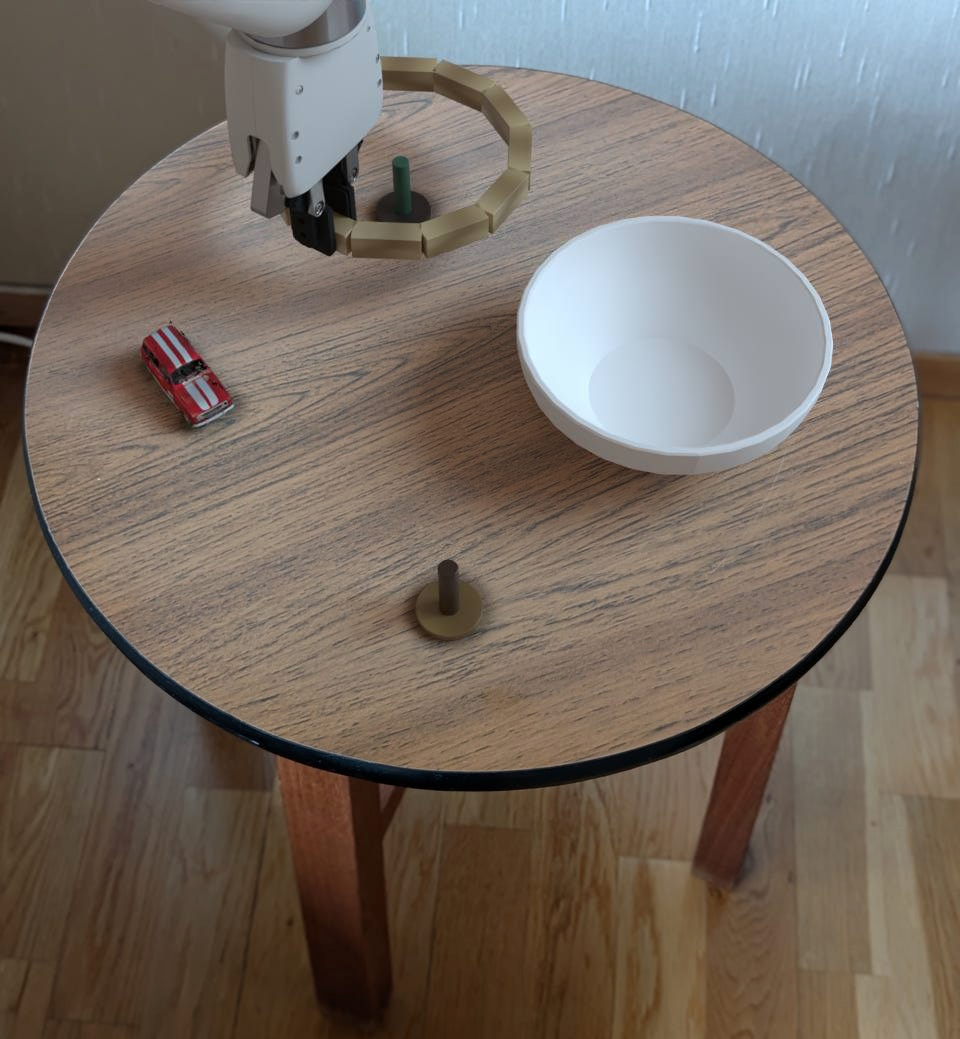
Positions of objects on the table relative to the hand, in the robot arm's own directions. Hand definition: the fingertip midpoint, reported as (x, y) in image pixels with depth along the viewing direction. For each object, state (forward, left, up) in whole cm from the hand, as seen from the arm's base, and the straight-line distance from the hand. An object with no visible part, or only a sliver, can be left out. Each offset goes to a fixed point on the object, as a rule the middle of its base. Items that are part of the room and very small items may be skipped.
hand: (325, 234), depth 89 cm
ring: (+9, 0, 0) cm, 9 cm away
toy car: (-12, +3, -6) cm, 14 cm away
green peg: (+9, 0, -5) cm, 10 cm away
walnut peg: (-17, -21, -5) cm, 28 cm away
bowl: (+4, -24, -6) cm, 25 cm away
